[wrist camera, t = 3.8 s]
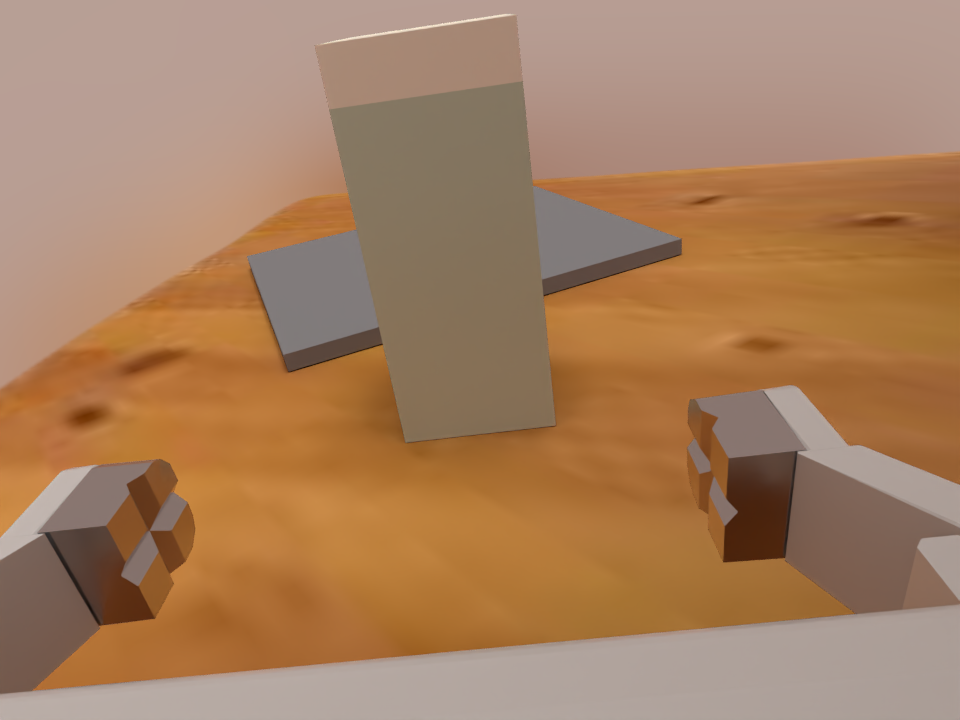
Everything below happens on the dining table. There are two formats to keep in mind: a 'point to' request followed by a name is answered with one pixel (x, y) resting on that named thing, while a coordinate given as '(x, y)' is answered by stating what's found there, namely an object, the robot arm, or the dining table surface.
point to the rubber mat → (347, 296)
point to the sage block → (446, 221)
